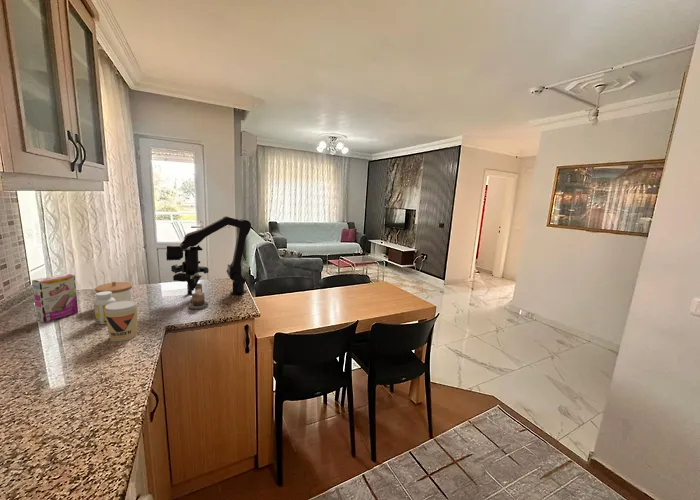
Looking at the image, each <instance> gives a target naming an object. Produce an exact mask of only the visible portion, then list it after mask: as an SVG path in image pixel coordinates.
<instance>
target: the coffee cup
mask: <svg viewBox="0 0 700 500" xmlns="http://www.w3.org/2000/svg"><path fill="white" fill-rule="evenodd" d="M104 311H105V316H106V321H107V324H106V325H107V331H108V335H109V340H110V341H112V342H124V340H125V341H127V340H130V339H134V338H135V337H136V336H137V335H138V302H137V301H135V300H131V299H130V300H123V301H117V302H113V303H110V304H108V305H106V306H105V308H104Z"/></svg>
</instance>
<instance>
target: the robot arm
mask: <svg viewBox="0 0 700 500" xmlns="http://www.w3.org/2000/svg"><path fill="white" fill-rule="evenodd" d="M226 226H232V227H234V228H236V233H237V237H236V242H235V247H234V253H233V258H232V262H231V263H230V264H229V263H228V264H227V269H226V272H225V273H227V276H228V278H229V279H230V281H232V291H231V292H229V295H237V296H243V295H244V294H245V293H246V292H247V291H248V290H246V289H245V284H246V282H247V281H246V280H247V279H246V278H245V277H244V275H242V259H243V255H244V249H245V244H246V239H247V237H248V236H249V234H250V231H251V228H252V224H251V222H250V221H249V220H247V219H245V218H241V219H238V218H233V217H230V216H227V215H226V216H223V217H222V218H220V219H218V220H217V221H215V222H213V223H211V224H209V225H207V226H205V227H203V228H201V229H198V230H197V229H196V230H194V231H191V232H188V233H185V235H184V236H183V241H182V242H181V243H180V244H179V245H167V246H166V253H165V254H166V261H181V260H182V258H183V259H184V261H182V264H179V265H178V264H173V265H171V267H170V268H171V269H170V270H171V272H172V273H174V275H172V281H173V282H174V281H175V282H183V283H185V282H186V283H187V284H188V285H189V288H190V290H191V291H192V292H193V291H195V287H196V285H197V283H199V281H200V279H201V278H202V275H200V274H199V273H203V274H206V275H207V274H208V273H209V268H208V267H207V266H200V265H199V264H201V260H199V251H203V250H204V249H203V248H202V247H201V246H200V245H199V244H200V243H201V242H202V241H203V240H204V239H205V238H207V237H208V236H210V235H212V234H214V233H215V232H217V231H220V230H222V229H223V228H225V227H226Z"/></svg>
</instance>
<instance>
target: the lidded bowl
mask: <svg viewBox="0 0 700 500" xmlns="http://www.w3.org/2000/svg"><path fill="white" fill-rule="evenodd" d="M94 291H95V295H96V294H97V293H99V292H104V291H111V292H112V296H111V297H113V298H115V300H116V302H117V301H123V300H131V299H132V295H133V284H132V283H131V282H127V281H111V282H108V283H103V284H100V285H98V286H96V287H95V288H94Z"/></svg>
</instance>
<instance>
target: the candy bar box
mask: <svg viewBox="0 0 700 500" xmlns="http://www.w3.org/2000/svg"><path fill="white" fill-rule="evenodd" d="M31 285H32V294H33V302H34V308H35V309H34V311H35V318H36V322H40V323H43V324H46V323H50V322H52V321H56V320H59V319H62V318H65V317H69V316H72V315H75V314H78V313H79V307H78V297H77V286H76V285H77V284H76V276H75V275H74V274H71V273H63V274H58V275H54V276H53V275H52V276H47V277H41V278H37V279H32V280H31Z"/></svg>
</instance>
